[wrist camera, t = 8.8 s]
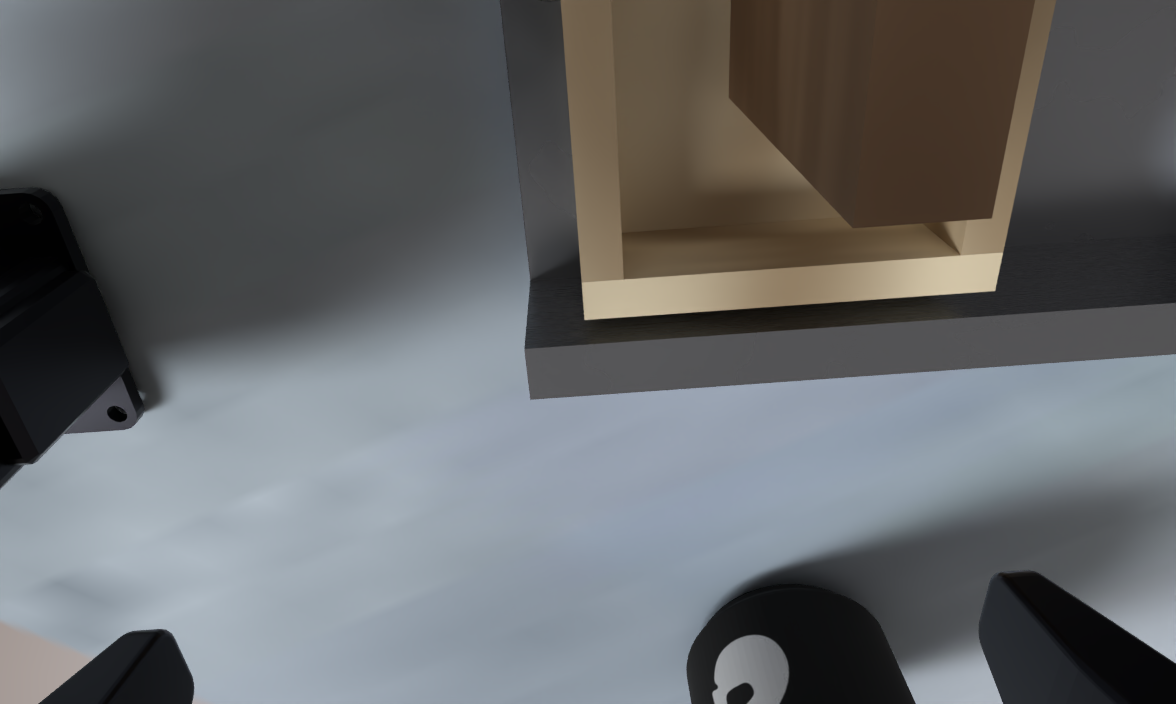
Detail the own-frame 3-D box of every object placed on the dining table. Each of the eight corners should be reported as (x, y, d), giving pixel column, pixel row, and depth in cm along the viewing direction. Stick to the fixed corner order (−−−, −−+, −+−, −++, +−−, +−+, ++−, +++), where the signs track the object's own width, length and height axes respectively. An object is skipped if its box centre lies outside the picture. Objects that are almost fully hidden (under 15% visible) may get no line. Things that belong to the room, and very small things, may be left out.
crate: (580, 256, 18) (593, 486, 11) (540, -294, 13) (512, -569, 6) (925, 231, 18) (1177, 446, 11) (1012, -330, 13) (1591, -654, 6)
